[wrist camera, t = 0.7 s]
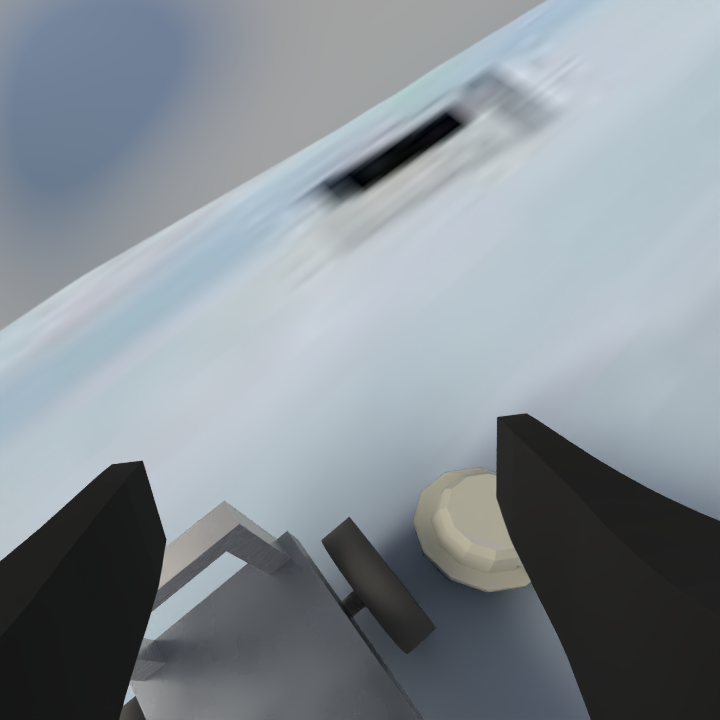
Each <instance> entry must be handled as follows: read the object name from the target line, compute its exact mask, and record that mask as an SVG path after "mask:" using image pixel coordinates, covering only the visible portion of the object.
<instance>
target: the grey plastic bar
mask: <svg viewBox="0 0 720 720" xmlns="http://www.w3.org/2000/svg"><path fill="white" fill-rule="evenodd" d="M413 525H414V528H415V531H416V534H417V537H418V540H419V543H420V546H421V549H422V552H423V555H425V556H426V557H427V558H428V559H429V560H430V561H431V562H432V563H433V564H434V565H435V566H436V567H437V568H438V569H439V570H440V571H441V572H442V573H444V574H445V575H446V576H447V577H448V578H449V579H450V580H452V581H455V582H458V583H461V584H464V585H467V586H470V587H473V588H476V589H479V590H482V591H485V592H495V591H502V590H509V589H516V588H523V587H525V586H526V585H528V584H529V583H530V582H531V581H530V579H529V577H528V575H527V573H526V571H525V569H524V566H523V564H522V562H521V560H520V558H519V556H518V554H517V552H516V550H515V548H514V546H513V544H512V542H511V540H510V537H509V534H508V531H507V528H506V525H505V523H504V520H503V517H502V514H501V510H500V507H499V504H498V501H497V498H496V472H493V471H490V470H486V469H483V468H480V467H479V468H472V469H465V470H458V471H451V472H445V473H444V474H443V475H441V476H440V477H439V478H438V479H436V480H435V481H434V482H433V483H431V484H430V485H429V486H427V487H426V488H425V489H424V490H422V491H421V494H420V498H419V501H418V505H417V508H416V512H415V515H414V519H413Z"/></svg>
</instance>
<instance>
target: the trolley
mask: <svg viewBox="0 0 720 720" xmlns="http://www.w3.org/2000/svg"><path fill="white" fill-rule="evenodd" d="M322 543H323V545H324V547H325V549H326V550H327V552H328V554H329V555H330V557H331V558H332V560H333V561H334V563H335V564H336V566H337V567H338V569H339V570H340V571H341V573H342V574H343V576H344V577H345V579H346V580H347V581H348V583H349V584H350V585H351V587H352V588H353V590H354V591H353V592H352V593H351V594H350V595H348V596H347V597H346V598H345V599H344V600H343V601H342V602H341V600H340V599H339V597H338V596H337V595H336V593H335V592H334V590H333V589H332V588H331V586H330V585H329V583H328V582H327V580H326V579H325V578H324V576H323V575H322V573H321V572H320V570H319V569H318V568H317V566H316V565H315V563H314V562H313V561H312V559H311V558H310V556H309V555H308V553H307V552H306V551H305V549H304V548H303V546H302V545H301V543H300V542H299V541H298V539H296V538H295V537H294V536H293V535H291V534H290V533H289V532H288V531H287V532H286V533H284V534H283V535H282V536H281V537H279V538H278V539H277V538H275V537H274V536H272V535H271V534H270V533H268V532H267V531H266V530H264V529H263V528H261V527H260V526H259V525H257V524H256V523H255V522H253V521H252V520H250V519H249V518H248V517H246V516H245V515H244V514H242V513H241V512H239V511H238V510H237V509H235V508H234V507H233V506H231V505H230V504H228V503H227V502H226V501H223V502H222V503H221V504H219V505H218V506H217V507H216V508H214V509H213V510H212V511H211V512H209V513H208V514H207V515H206V516H204V517H203V518H202V519H201V520H199V521H198V522H197V523H196V524H194V525H193V526H192V527H191V528H189V529H188V530H187V531H186V532H184V533H183V534H182V535H180V536H179V537H178V538H177V539H175V540H174V541H173V542H172V543H170V544H169V545H168V546H167V547H165V552H164V559H163V566H162V571H161V577H160V583H159V587H158V591H157V594H156V598H155V601H154V605H153V608H152V611H153V610H155V609H156V608H157V607H158V606H159V605H161V604H162V603H163V602H164V601H166V600H167V599H168V598H169V597H171V596H172V595H173V594H174V593H175V592H177V591H178V590H179V589H180V588H182V587H183V586H184V585H185V584H186V583H188V582H189V581H190V580H191V579H193V578H194V577H195V576H196V575H198V574H199V573H200V572H201V571H202V570H204V569H205V568H206V567H207V566H209V565H210V564H211V563H212V562H214V561H215V560H216V559H217V558H218V557H220V556H221V555H222V554H223V553H225V552H226V551H227V552H229V553H231V554H233V555H234V556H236V557H238V558H240V559H242V560H244V561H245V562H247V563H248V564H247V565H245V566H244V567H243V568H242V569H241V570H239V571H238V572H237V573H236V574H235V575H233V576H232V577H231V578H230V579H228V580H227V581H226V582H225V583H224V584H222V585H221V586H220V587H219V588H218V589H216V590H215V591H214V592H213V593H211V594H210V595H209V596H208V597H207V598H205V599H204V600H203V601H202V602H201V603H199V604H198V605H197V606H196V607H195V608H193V609H192V610H191V611H190V612H188V613H187V614H186V615H185V616H184V617H182V618H181V619H180V620H179V621H178V622H176V623H175V624H174V625H173V626H171V627H170V628H169V629H168V630H167V631H165V632H164V633H163V634H162V635H161V636H159V637H158V638H157V639H156V640H150V639H145V638H143V641H142V644H141V647H140V650H139V654H138V657H137V660H136V663H135V667H134V670H133V673H132V676H131V680H130V685H131V687H132V689H133V691H134V694H135V697H134V698H133V699H131V700H130V701H129V702H128V703H127V704H125V705H124V706H123V707H122V711H121V715H120V719H119V720H424V718H423V717H422V716H421V714H420V713H419V711H418V710H417V708H416V707H415V706H414V704H413V703H412V701H411V700H410V698H409V697H408V696H407V694H406V693H405V691H404V690H403V688H402V687H401V686H400V684H399V683H398V681H397V680H396V679H395V677H394V676H393V674H392V673H391V671H390V670H389V669H388V667H387V666H386V664H385V663H384V661H383V660H382V659H381V657H380V656H379V654H378V653H377V652H376V650H375V649H374V647H373V646H372V644H371V643H370V642H369V640H368V639H367V637H366V636H365V634H364V633H363V632H362V630H361V629H360V627H359V626H358V625H357V623H356V622H355V620H354V619H353V616H354V615H355V614H357V613H358V612H359V611H360V610H361V609H362V608H363V607H365V606H366V607H367V608H368V609H369V611H370V612H371V613H372V615H373V616H374V617H375V618H376V620H377V621H378V622H379V624H380V625H381V626H382V627H383V628H384V630H385V631H386V632H387V633H388V635H389V636H390V637H391V638H392V639H393V640H394V642H395V643H396V644H397V645H398V646H399V647H400V648H401V649H402V650H403V651H404V652H405V653H406V654H408V653H409V652H410V651H412V650H413V649H414V648H415V647H416V646H417V645H418V644H419V643H420V642H421V641H423V640H424V639H425V638H426V637H427V636H428V635H429V634H430V633H431V632H433V631H434V630H435V629H436V627H435V626H434V625H433V623H432V622H431V621H430V619H429V618H428V617H427V615H426V614H425V613H424V611H423V610H422V609H421V608H420V606H419V605H418V604H417V602H416V601H415V600H414V598H413V597H412V596H411V595H410V593H409V592H408V591H407V589H406V588H405V587H404V586H403V584H402V583H401V582H400V580H399V579H398V578H397V577H396V575H395V574H394V573H393V571H392V570H391V569H390V568H389V566H388V565H387V564H386V562H385V561H384V560H383V559H382V557H381V556H380V555H379V554H378V552H377V551H376V550H375V548H374V547H373V546H372V545H371V543H370V542H369V541H368V540H367V538H366V537H365V536H364V535H363V533H362V532H361V531H360V529H359V528H358V527H357V526H356V524H355V523H354V522H353V521H352V520H351V518H350V517H349V518H347V519H346V520H345V521H344V522H343V523H341V524H340V525H339V526H338V527H337V528H336V529H334V530H333V531H332V532H331V533H330V534H328V535H327V536H326V537H325V538H324V539H322ZM152 611H151V612H152Z"/></svg>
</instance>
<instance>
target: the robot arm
mask: <svg viewBox="0 0 720 720" xmlns="http://www.w3.org/2000/svg"><path fill="white" fill-rule="evenodd" d="M496 498H497V501H498V504H499V507H500V510H501V514H502V517H503V520H504V523H505V525H506V528H507V531H508V534H509V537H510V540H511V542H512V544H513V546H514V548H515V550H516V552H517V554H518V556H519V558H520V560H521V562H522V564H523V566H524V569H525V571H526V573H527V575H528V577H529V579H530V581H531V583H532V585H533V587H534V589H535V591H536V593H537V595H538V597H539V599H540V601H541V603H542V605H543V607H544V609H545V611H546V613H547V615H548V617H549V619H550V621H551V623H552V625H553V627H554V629H555V631H556V633H557V635H558V637H559V639H560V642H561V644H562V646H563V648H564V651H565V653H566V655H567V657H568V660H569V662H570V665H571V668H572V670H573V673H574V676H575V678H576V681H577V684H578V686H579V689H580V692H581V694H582V697H583V699H584V702H585V705H586V707H587V710H588V713H589V716H590V719H591V720H720V521H718V520H716V519H713V518H711V517H709V516H706V515H704V514H701V513H699V512H697V511H695V510H693V509H690V508H688V507H686V506H684V505H682V504H680V503H677V502H675V501H673V500H671V499H669V498H667V497H664V496H662V495H661V494H659V493H657V492H655V491H653V490H651V489H649V488H647V487H645V486H643V485H641V484H640V483H638V482H636V481H634V480H632V479H631V478H629V477H627V476H625V475H623V474H621V473H620V472H618V471H616V470H615V469H613V468H611V467H610V466H608V465H606V464H604V463H603V462H601V461H600V460H598V459H596V458H595V457H593V456H592V455H590V454H588V453H587V452H585V451H584V450H582V449H581V448H579V447H577V446H576V445H574V444H573V443H571V442H570V441H568V440H567V439H565V438H564V437H562V436H561V435H559V434H558V433H556V432H555V431H553V430H552V429H550V428H549V427H547V426H546V425H544V424H543V423H541V422H540V421H538V420H537V419H535V418H533V417H532V416H530V415H528V414H527V413H526V414H518V415H510V416H502V417H497V471H496ZM165 545H166V537H165V534H164V530H163V527H162V524H161V520H160V517H159V514H158V510H157V507H156V504H155V500H154V497H153V494H152V490H151V487H150V484H149V480H148V477H147V474H146V470H145V467H144V464H143V461H136V462H128V463H119V464H112V465H111V466H109V467H108V468H107V469H106V470H104V471H103V472H102V473H101V474H100V475H98V476H97V477H96V478H95V479H94V480H93V481H92V482H91V483H89V484H88V485H87V486H86V487H85V488H84V489H83V490H82V491H81V492H80V493H78V494H77V495H76V496H75V497H74V498H73V499H72V500H71V501H70V502H69V503H67V504H66V505H65V506H64V507H63V508H62V509H61V510H60V511H59V512H57V513H56V514H55V515H54V516H53V517H52V518H51V519H50V520H49V521H47V522H46V523H45V524H44V525H43V526H42V527H41V528H40V529H38V530H37V531H36V532H35V533H34V534H33V535H31V536H30V537H29V538H28V539H27V540H25V541H24V542H23V543H22V544H20V545H19V546H18V547H17V548H16V549H14V550H13V551H12V552H11V553H10V554H8V555H7V556H6V557H5V558H4V559H2V560H1V561H0V720H119V719H120V715H121V711H122V707H123V704H124V700H125V696H126V693H127V689H128V686H129V683H130V680H131V676H132V673H133V670H134V667H135V663H136V660H137V657H138V654H139V650H140V647H141V644H142V641H143V637H144V634H145V631H146V628H147V625H148V621H149V618H150V615H151V611H152V608H153V605H154V601H155V598H156V594H157V591H158V587H159V583H160V577H161V571H162V566H163V559H164V552H165Z"/></svg>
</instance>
